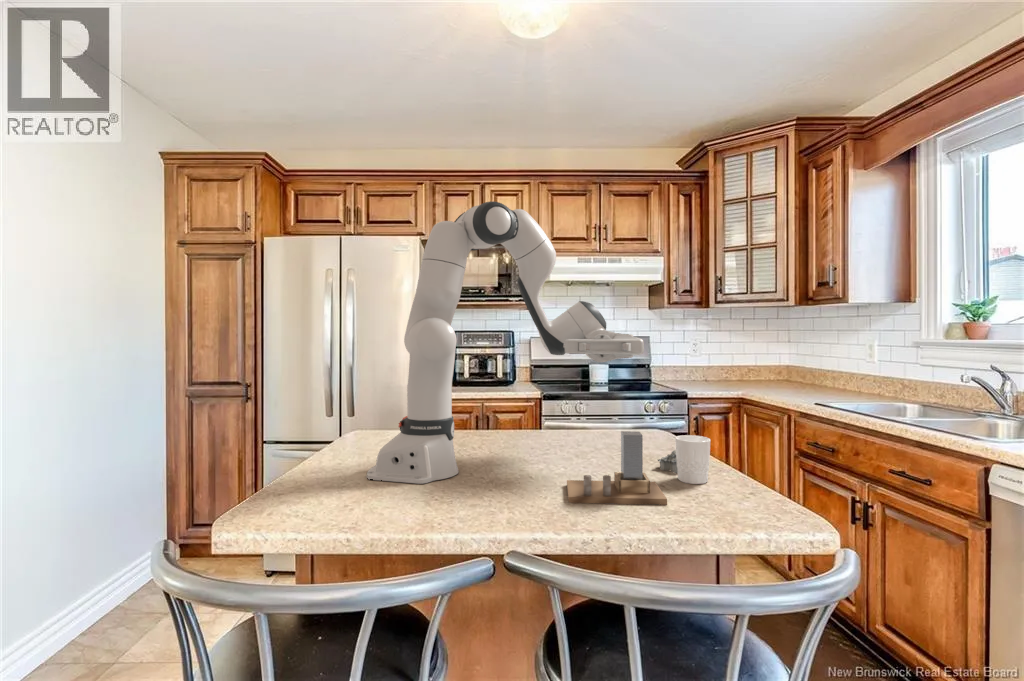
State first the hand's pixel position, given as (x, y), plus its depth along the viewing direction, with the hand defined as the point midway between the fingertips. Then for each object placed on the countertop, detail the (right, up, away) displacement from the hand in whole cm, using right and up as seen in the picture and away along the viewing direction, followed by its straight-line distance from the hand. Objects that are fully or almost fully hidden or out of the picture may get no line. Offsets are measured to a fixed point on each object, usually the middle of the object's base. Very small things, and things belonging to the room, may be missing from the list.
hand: (606, 347), depth 125 cm
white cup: (+20, -32, -4) cm, 38 cm away
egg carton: (+20, -32, +7) cm, 38 cm away
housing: (-1, -32, -15) cm, 35 cm away
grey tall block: (+3, -31, -14) cm, 34 cm away
